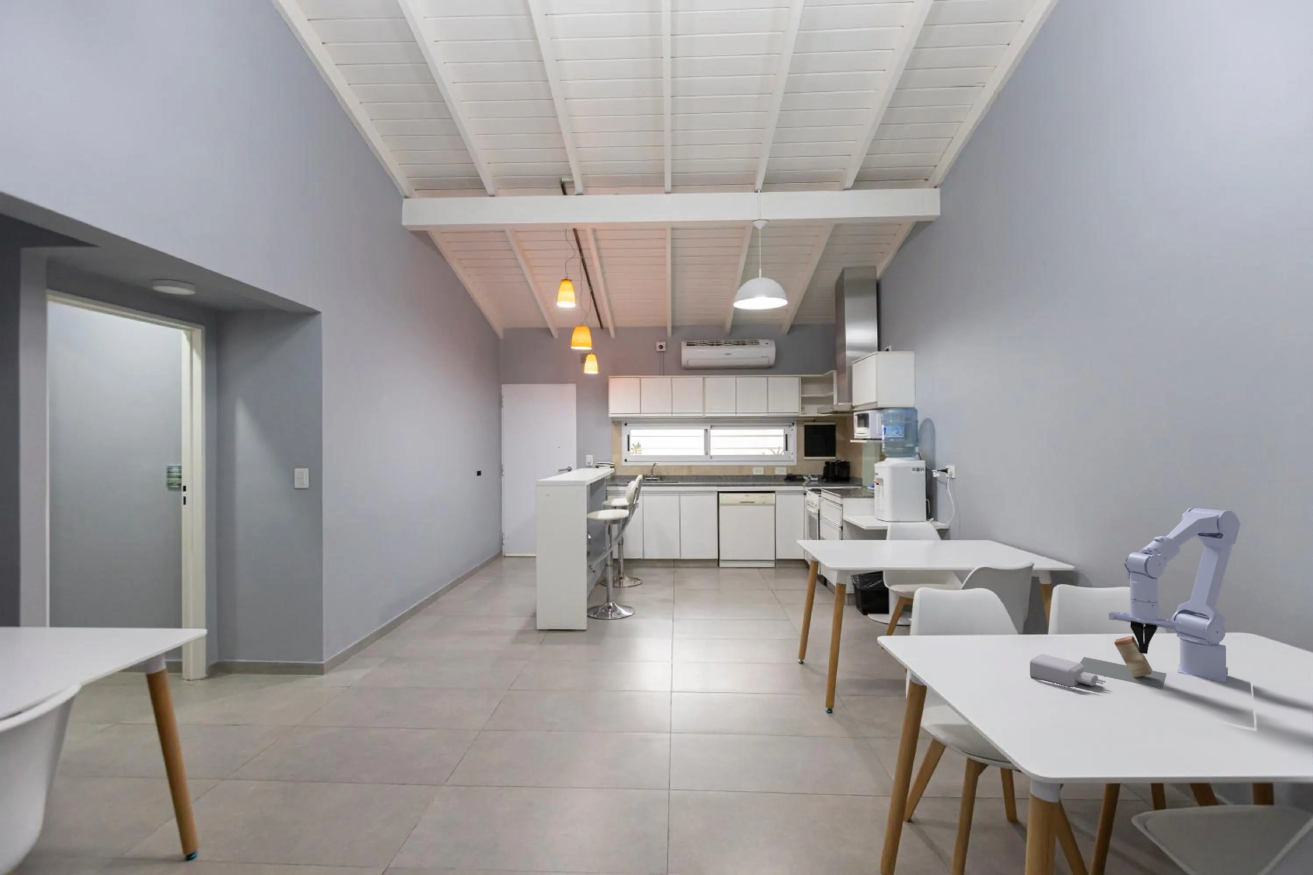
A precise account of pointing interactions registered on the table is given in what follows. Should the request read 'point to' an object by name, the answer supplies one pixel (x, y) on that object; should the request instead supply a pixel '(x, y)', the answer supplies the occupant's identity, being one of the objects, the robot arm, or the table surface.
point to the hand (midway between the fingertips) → (1143, 652)
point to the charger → (1061, 671)
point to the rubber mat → (1121, 672)
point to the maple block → (1133, 656)
